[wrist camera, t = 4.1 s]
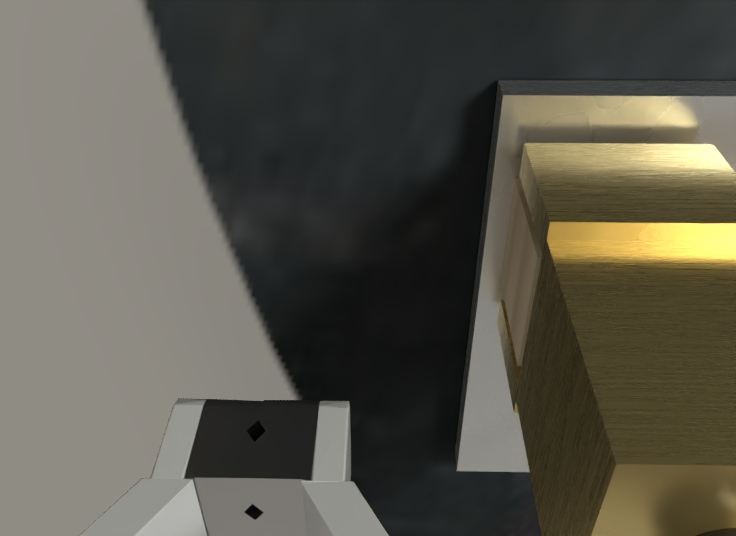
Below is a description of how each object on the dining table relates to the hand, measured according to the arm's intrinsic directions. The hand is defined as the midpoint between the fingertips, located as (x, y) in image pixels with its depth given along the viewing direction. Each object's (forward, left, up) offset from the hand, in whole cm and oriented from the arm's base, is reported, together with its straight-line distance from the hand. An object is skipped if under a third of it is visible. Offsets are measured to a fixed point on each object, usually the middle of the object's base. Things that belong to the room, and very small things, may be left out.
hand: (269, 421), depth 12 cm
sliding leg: (-7, +2, -5) cm, 9 cm away
